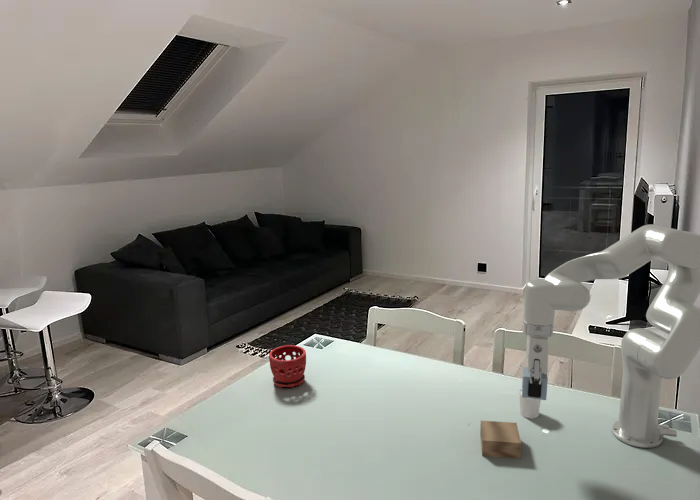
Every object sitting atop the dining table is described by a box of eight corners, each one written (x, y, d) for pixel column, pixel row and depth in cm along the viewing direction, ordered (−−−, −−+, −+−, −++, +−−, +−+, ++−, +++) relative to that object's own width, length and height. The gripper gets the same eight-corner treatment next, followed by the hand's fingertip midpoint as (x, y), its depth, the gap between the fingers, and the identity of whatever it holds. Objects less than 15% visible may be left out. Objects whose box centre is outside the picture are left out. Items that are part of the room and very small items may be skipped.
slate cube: (544, 389, 141) (546, 369, 140) (546, 400, 136) (547, 379, 134) (521, 386, 143) (523, 366, 142) (522, 397, 137) (523, 376, 136)
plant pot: (263, 385, 186) (261, 354, 183) (288, 371, 196) (285, 342, 194) (291, 395, 179) (289, 362, 176) (314, 379, 189) (313, 349, 186)
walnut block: (516, 438, 149) (516, 422, 148) (520, 459, 140) (521, 443, 139) (480, 436, 151) (480, 420, 150) (482, 456, 142) (482, 440, 140)
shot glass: (542, 420, 157) (543, 399, 156) (518, 418, 159) (519, 397, 157) (538, 408, 164) (539, 388, 162) (516, 407, 165) (516, 387, 164)
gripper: (555, 341, 126) (550, 408, 130) (551, 317, 142) (546, 378, 146) (523, 338, 128) (519, 404, 132) (522, 315, 144) (518, 375, 148)
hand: (533, 390), depth 139 cm, fingers closed on slate cube, 6 cm apart
